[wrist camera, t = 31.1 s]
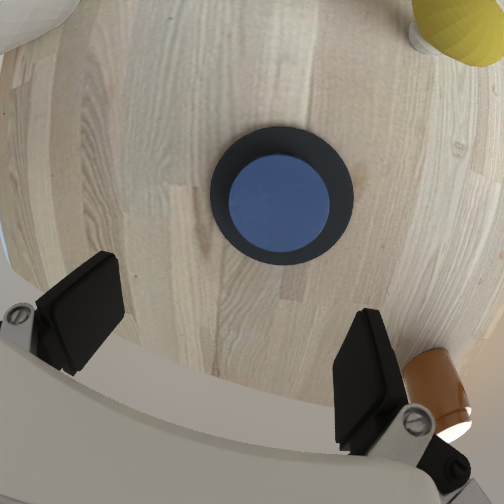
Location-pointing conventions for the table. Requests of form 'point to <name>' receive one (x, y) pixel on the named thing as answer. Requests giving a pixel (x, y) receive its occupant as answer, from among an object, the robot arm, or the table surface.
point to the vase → (31, 19)
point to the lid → (279, 202)
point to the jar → (439, 392)
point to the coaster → (309, 151)
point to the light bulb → (459, 30)
